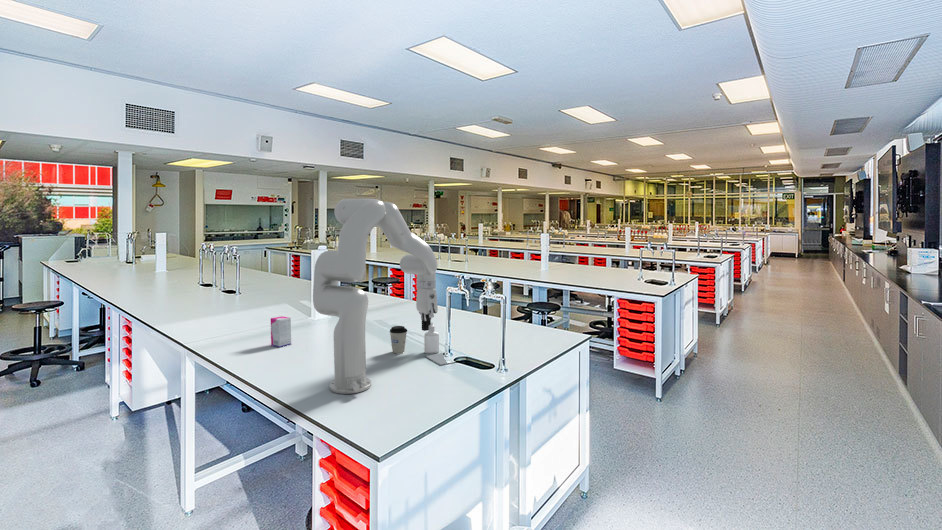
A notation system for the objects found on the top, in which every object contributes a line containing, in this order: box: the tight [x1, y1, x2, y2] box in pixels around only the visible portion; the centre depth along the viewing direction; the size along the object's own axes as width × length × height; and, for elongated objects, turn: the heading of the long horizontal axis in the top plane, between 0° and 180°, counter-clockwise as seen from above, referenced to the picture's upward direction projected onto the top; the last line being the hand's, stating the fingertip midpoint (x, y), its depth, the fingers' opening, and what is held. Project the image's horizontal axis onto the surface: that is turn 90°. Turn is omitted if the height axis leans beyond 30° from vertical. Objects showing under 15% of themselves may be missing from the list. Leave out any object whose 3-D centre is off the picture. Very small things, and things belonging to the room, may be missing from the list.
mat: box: [424, 352, 448, 366], centre depth 172 cm, size 12×10×1 cm
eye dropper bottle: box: [423, 322, 440, 354], centre depth 180 cm, size 4×6×12 cm
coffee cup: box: [389, 325, 408, 355], centre depth 180 cm, size 7×7×10 cm
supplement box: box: [270, 315, 292, 349], centre depth 188 cm, size 6×6×12 cm
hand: (426, 329), depth 184 cm, fingers closed
